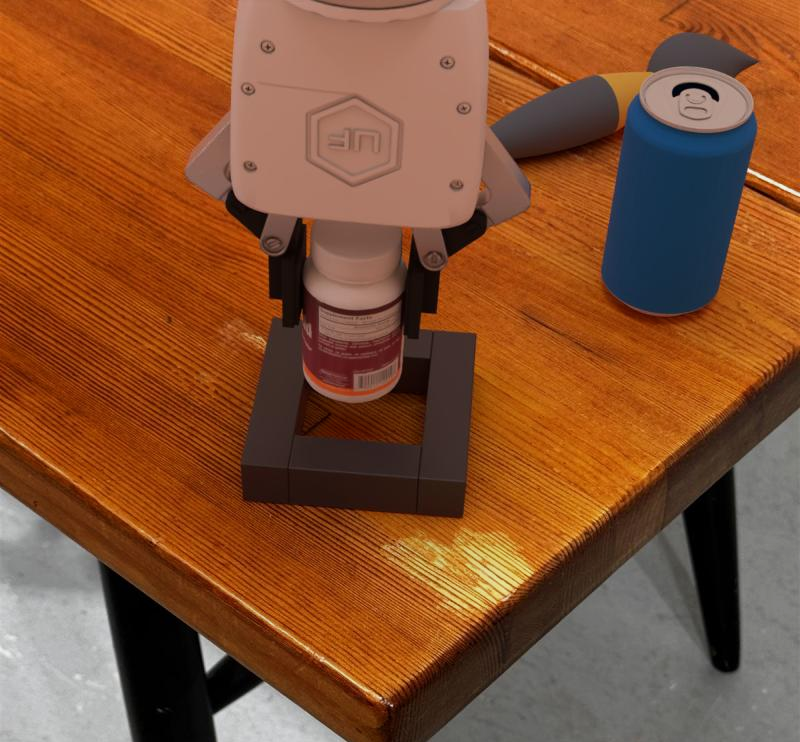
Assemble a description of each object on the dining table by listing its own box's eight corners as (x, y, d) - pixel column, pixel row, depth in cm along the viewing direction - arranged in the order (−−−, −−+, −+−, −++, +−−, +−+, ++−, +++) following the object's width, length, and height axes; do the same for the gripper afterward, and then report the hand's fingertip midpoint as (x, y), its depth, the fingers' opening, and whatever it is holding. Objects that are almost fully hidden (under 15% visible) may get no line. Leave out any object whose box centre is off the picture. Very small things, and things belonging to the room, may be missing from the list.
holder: (242, 500, 69) (240, 464, 67) (273, 353, 76) (272, 316, 74) (462, 518, 68) (466, 482, 66) (473, 369, 75) (476, 332, 73)
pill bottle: (312, 331, 71) (313, 190, 65) (409, 345, 71) (419, 205, 65) (292, 398, 68) (291, 256, 62) (392, 413, 67) (402, 272, 61)
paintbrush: (509, 199, 85) (516, 126, 82) (461, 157, 88) (467, 84, 85) (762, 108, 93) (779, 37, 89) (711, 71, 96) (725, 1, 92)
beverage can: (716, 257, 82) (761, 68, 73) (717, 332, 78) (765, 140, 69) (601, 245, 83) (632, 55, 74) (596, 318, 78) (628, 126, 70)
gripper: (114, -35, 51) (153, 351, 64) (599, 7, 51) (537, 387, 64) (156, -131, 56) (184, 246, 69) (597, -93, 56) (540, 278, 69)
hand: (354, 310), depth 66 cm, fingers closed on pill bottle, 4 cm apart
